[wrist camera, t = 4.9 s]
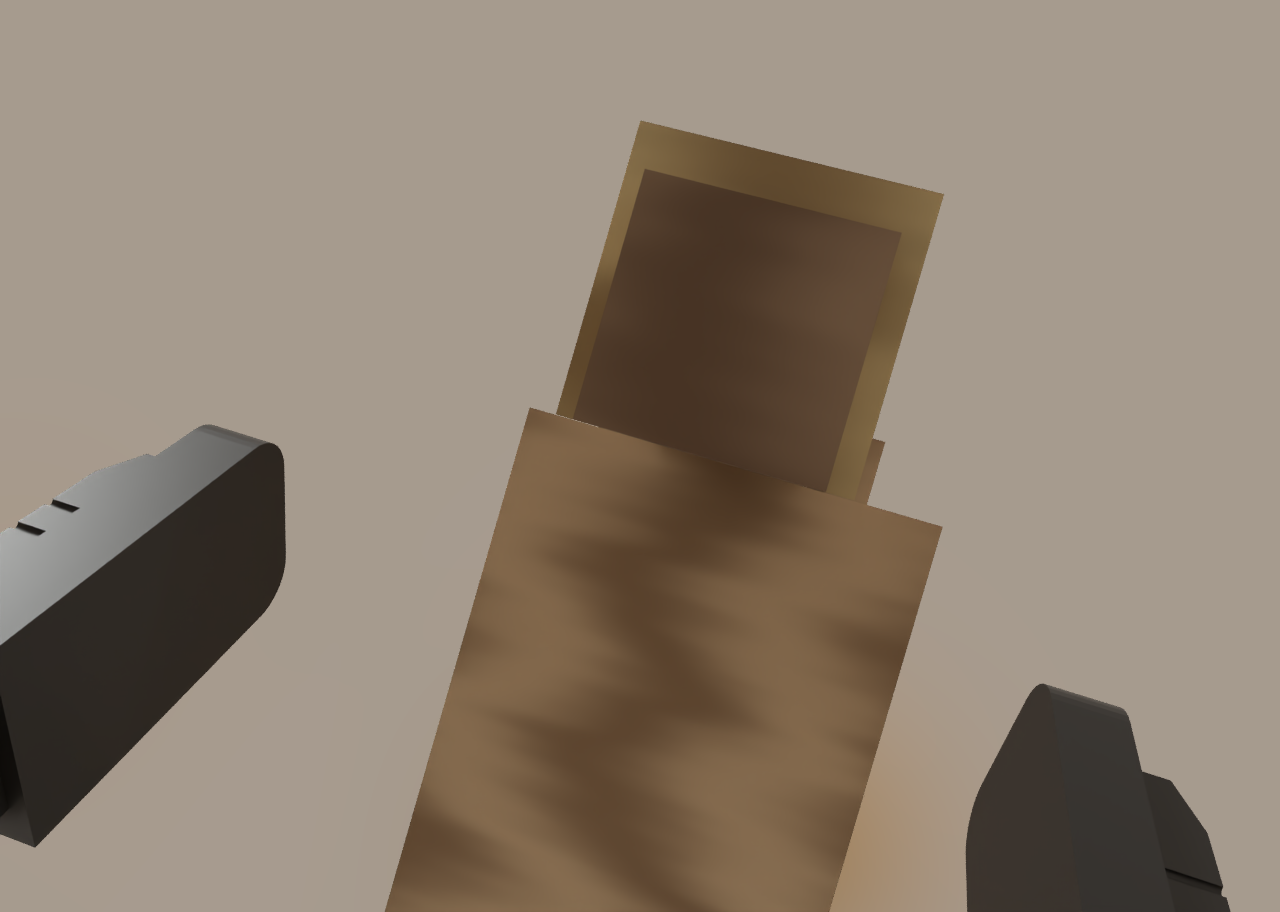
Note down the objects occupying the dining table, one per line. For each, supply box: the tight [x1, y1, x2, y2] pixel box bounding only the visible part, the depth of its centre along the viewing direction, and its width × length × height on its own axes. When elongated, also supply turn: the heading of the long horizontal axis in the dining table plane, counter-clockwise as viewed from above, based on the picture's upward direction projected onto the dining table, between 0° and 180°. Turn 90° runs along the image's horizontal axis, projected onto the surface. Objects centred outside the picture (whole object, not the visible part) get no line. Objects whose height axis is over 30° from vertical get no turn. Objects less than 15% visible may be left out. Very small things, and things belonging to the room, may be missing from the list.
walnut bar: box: [556, 121, 944, 500], centre depth 28 cm, size 4×30×4 cm, turn 172°
